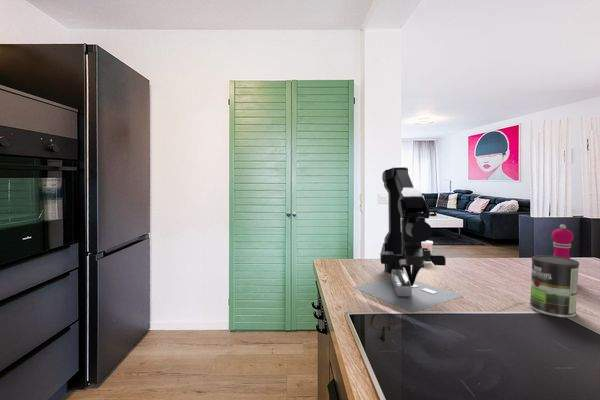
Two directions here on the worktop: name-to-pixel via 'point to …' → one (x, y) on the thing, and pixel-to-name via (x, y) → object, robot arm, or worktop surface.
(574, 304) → the coffee can
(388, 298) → the label board
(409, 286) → the bar
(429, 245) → the beverage cup
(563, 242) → the pepper mill
